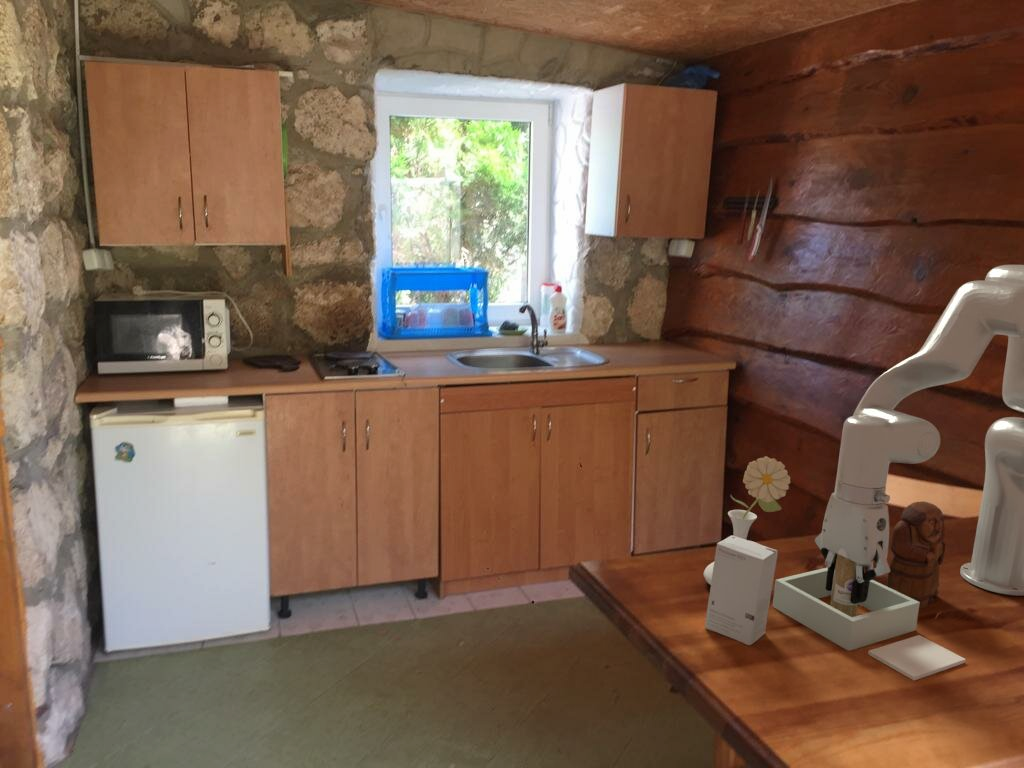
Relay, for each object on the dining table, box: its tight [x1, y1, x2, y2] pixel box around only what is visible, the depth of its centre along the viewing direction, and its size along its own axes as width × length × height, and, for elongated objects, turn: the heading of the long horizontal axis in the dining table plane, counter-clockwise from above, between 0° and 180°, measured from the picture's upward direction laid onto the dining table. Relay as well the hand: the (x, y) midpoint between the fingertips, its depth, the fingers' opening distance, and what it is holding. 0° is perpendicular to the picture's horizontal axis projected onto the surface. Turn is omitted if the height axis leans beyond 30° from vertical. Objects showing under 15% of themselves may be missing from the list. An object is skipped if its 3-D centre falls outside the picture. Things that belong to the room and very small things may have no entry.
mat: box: [867, 634, 966, 681], centre depth 128 cm, size 12×8×1 cm, turn 118°
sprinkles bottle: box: [830, 548, 859, 617], centre depth 139 cm, size 5×5×14 cm
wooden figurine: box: [886, 501, 947, 609], centre depth 147 cm, size 12×6×18 cm, turn 130°
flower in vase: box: [703, 456, 791, 586], centre depth 147 cm, size 13×11×25 cm
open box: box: [771, 566, 920, 652], centre depth 140 cm, size 16×16×5 cm
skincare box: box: [704, 534, 779, 646], centre depth 133 cm, size 8×6×15 cm
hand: (845, 594), depth 139 cm, fingers closed on sprinkles bottle, 4 cm apart
